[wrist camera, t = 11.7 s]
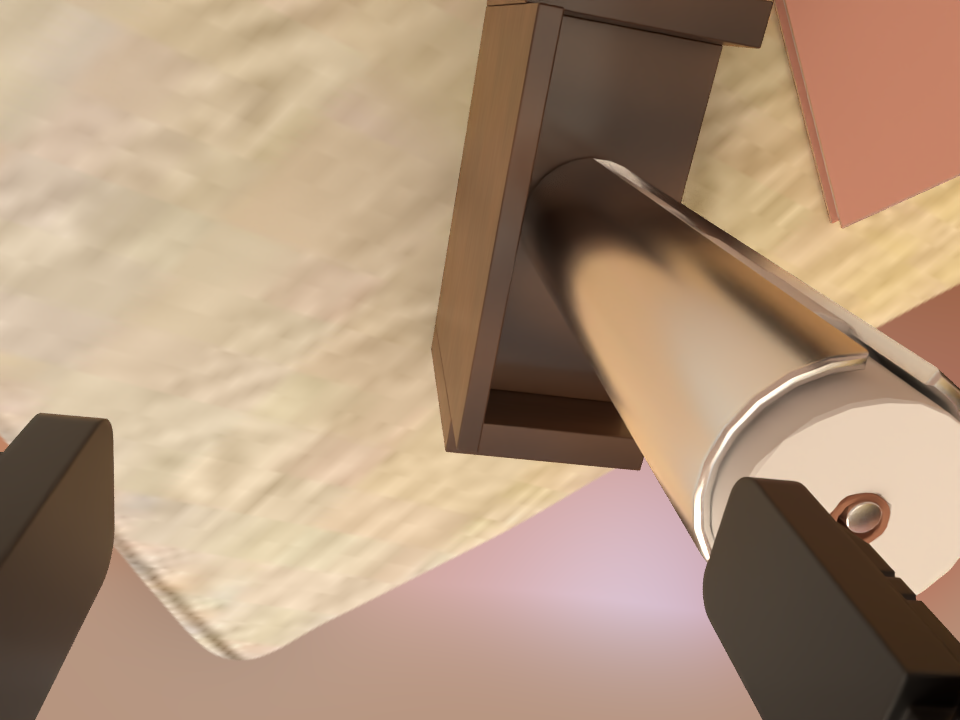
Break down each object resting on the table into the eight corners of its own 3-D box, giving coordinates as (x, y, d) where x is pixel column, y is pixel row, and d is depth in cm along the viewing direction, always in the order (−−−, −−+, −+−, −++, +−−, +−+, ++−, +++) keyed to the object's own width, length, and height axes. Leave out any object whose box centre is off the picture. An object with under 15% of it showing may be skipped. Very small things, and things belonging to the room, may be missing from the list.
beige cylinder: (676, 224, 40) (1069, 509, 17) (579, 313, 41) (821, 688, 18) (593, 127, 37) (918, 306, 15) (493, 225, 39) (647, 528, 16)
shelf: (492, -31, 42) (548, -54, 28) (669, 4, 44) (810, 0, 30) (431, 349, 51) (449, 485, 36) (582, 367, 52) (659, 504, 38)
